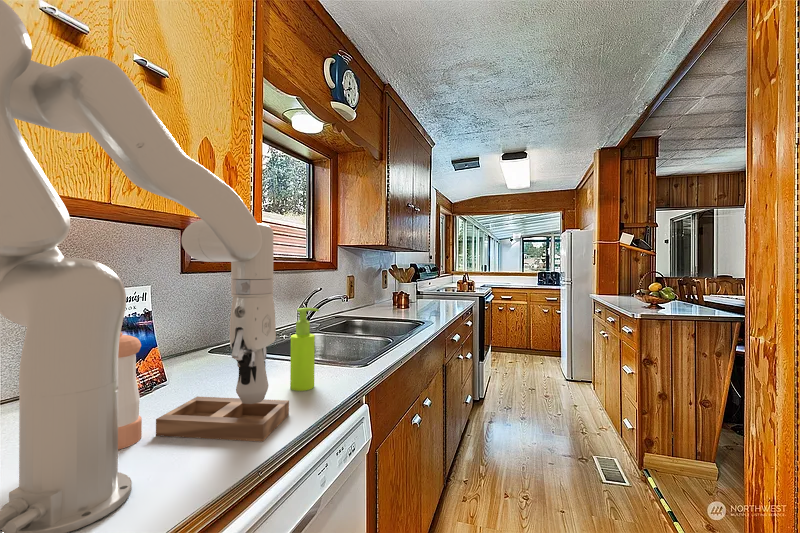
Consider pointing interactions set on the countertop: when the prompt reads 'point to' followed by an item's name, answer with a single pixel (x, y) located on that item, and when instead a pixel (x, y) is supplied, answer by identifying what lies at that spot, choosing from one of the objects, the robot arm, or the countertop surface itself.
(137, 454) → the countertop surface
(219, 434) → the caddy
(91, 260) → the robot arm
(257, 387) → the salt shaker
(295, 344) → the soap dispenser
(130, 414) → the pepper shaker
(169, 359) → the countertop surface
